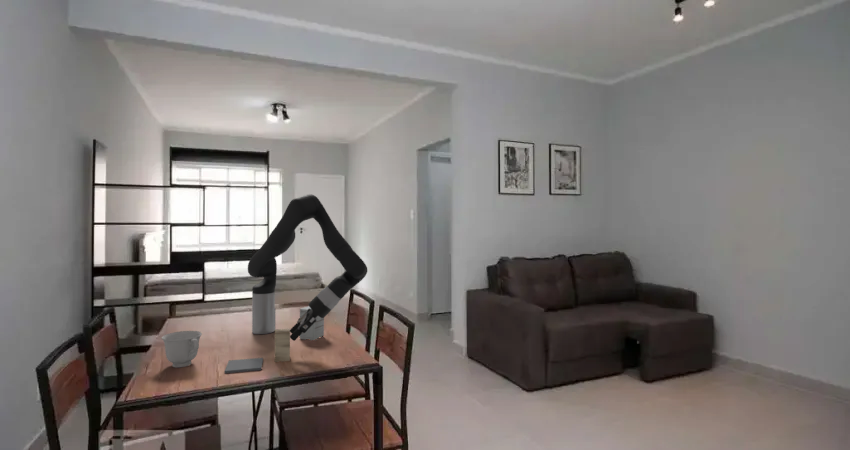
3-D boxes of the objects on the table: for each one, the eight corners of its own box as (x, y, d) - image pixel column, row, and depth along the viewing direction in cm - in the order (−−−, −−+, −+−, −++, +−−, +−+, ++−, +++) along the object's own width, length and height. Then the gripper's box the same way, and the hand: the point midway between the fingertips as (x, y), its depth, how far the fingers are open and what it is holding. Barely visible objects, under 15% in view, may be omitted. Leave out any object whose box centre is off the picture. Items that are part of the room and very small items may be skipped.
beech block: (275, 357, 157) (275, 329, 157) (289, 356, 158) (289, 328, 158) (274, 361, 152) (274, 333, 152) (289, 360, 154) (289, 332, 153)
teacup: (178, 375, 139) (178, 343, 139) (153, 366, 146) (153, 336, 146) (214, 364, 149) (214, 335, 149) (189, 357, 157) (189, 328, 157)
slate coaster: (228, 362, 151) (228, 360, 151) (263, 359, 154) (263, 357, 154) (224, 373, 140) (224, 370, 140) (261, 370, 144) (261, 367, 144)
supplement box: (298, 339, 181) (298, 308, 181) (309, 335, 188) (310, 305, 188) (313, 341, 178) (313, 310, 178) (324, 336, 185) (324, 306, 185)
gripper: (315, 291, 165) (283, 324, 162) (318, 298, 152) (283, 333, 148) (330, 305, 167) (298, 337, 164) (334, 312, 154) (299, 348, 150)
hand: (291, 335), depth 156 cm, fingers open, 8 cm apart
